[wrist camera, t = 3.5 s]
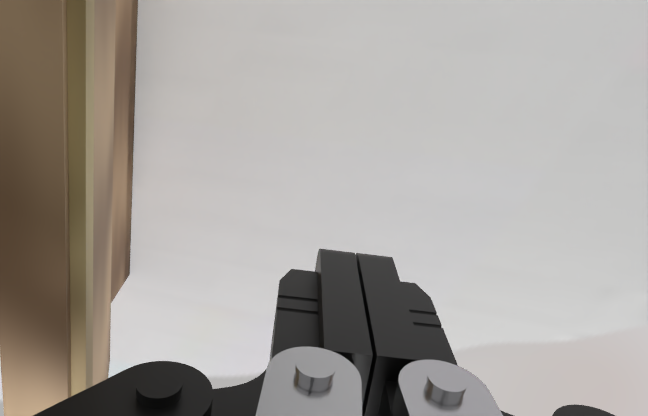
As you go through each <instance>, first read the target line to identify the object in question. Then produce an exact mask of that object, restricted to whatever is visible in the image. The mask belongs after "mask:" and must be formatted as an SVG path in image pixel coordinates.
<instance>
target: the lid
mask: <svg viewBox="0 0 648 416" xmlns="http://www.w3.org/2000/svg"><path fill="white" fill-rule="evenodd" d="M115 27H116V0H0V357H1V373H2V389H3V404H4V416H33V415H35V414H37V413H39V412H41V411H43V410H45V409H47V408H49V407H51V406H53V405H55V404H57V403H59V402H61V401H63V400H65V399H67V398H69V397H71V396H73V395H75V394H77V393H79V392H81V391H84V390H86V389H88V388H90V387H92V386H94V385H96V384H98V383H100V382H102V381H104V380H106V379H108V372H109V361H110V314H111V257H112V199H113V142H114V84H115Z"/></svg>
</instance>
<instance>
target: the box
mask: <svg viewBox="0 0 648 416" xmlns="http://www.w3.org/2000/svg"><path fill="white" fill-rule="evenodd" d="M137 8H138V0H116V27H115V84H114V142H113V199H112V257H111V302H112V301H113V299H114V298H115V296H116V294H117V293H118V291H119V290H120V288H121V287H122V285H123V284H124V282H125V281H126V279H127V277H128V276H129V273H130V240H131V207H132V174H133V141H134V108H135V74H136V41H137Z"/></svg>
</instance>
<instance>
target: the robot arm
mask: <svg viewBox="0 0 648 416" xmlns="http://www.w3.org/2000/svg"><path fill="white" fill-rule="evenodd" d="M33 416H513V415H510V414H508V413H505V412H503V411H501V410H500V409H499V407H498V406H497V404H496V402H495V400H494V398H493V397H492V395H491V393H490V391H489V390H488V388H487V387H486V385H485V384H484V383H483V382H482V381H481V380H480V379H479V378H478V377H476V376H475V375H474V374H472V373H471V372H469V371H467V370H465V369H464V368H462V367H459V366H458V365H457V363H456V360H455V358H454V355H453V353H452V350H451V348H450V345H449V343H448V340H447V338H446V335H445V333H444V330H443V328H441V323H440V320H439V318H438V316H437V315H436V310H435V308H434V305H433V303H432V300H431V298H430V297H429V296H428V295H427V294H426V293H425V292H424V291H423V290H422V289H421V288H420V287H419V286H418V285H416V284H415V283H408V282H400V280H399V277H398V274H397V270H396V267H395V264H394V261H393V258H392V257H385V256H377V255H369V254H360V253H356V255H355V253H351V252H343V251H334V250H326V249H319V251H318V256H317V262H316V268H315V272H312V271H304V270H295V269H291V270H290V271H289V272H288V273H287V274H286V275H285V276H284V277H283V278H282V279H281V280H280V283H279V290H278V298H277V306H276V314H275V321H274V329H273V337H272V344H271V354H270V362H269V364H268V366H267V369H266V370H265V371H264V372H263V373H262V374H261V375H260V376H258V377H257V378H255V379H254V380H251V381H249V382H247V383H244V384H241V385H237V386H232V387H226V388H219V389H212V385H211V383H210V381H209V380H208V379H207V377H206V376H205V375H204V374H203V373H201V372H200V371H199V370H197V369H195V368H193V367H191V366H188V365H186V364H182V363H178V362H170V361H156V362H148V363H143V364H139V365H136V366H133V367H131V368H128V369H126V370H124V371H122V372H120V373H118V374H116V375H114V376H112V377H110V378H108V379H106V380H104V381H102V382H100V383H98V384H96V385H94V386H92V387H90V388H88V389H86V390H84V391H81V392H79V393H77V394H75V395H73V396H71V397H69V398H67V399H65V400H63V401H61V402H59V403H57V404H55V405H53V406H51V407H49V408H47V409H45V410H43V411H41V412H39V413H37V414H35V415H33ZM553 416H615V415H613V414H610V413H608V412H606V411H603V410H600V409H597V408H593V407H589V406H584V405H567V406H563V407H561V408H559V409H557V410H556V411H555V412H554V414H553Z"/></svg>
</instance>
